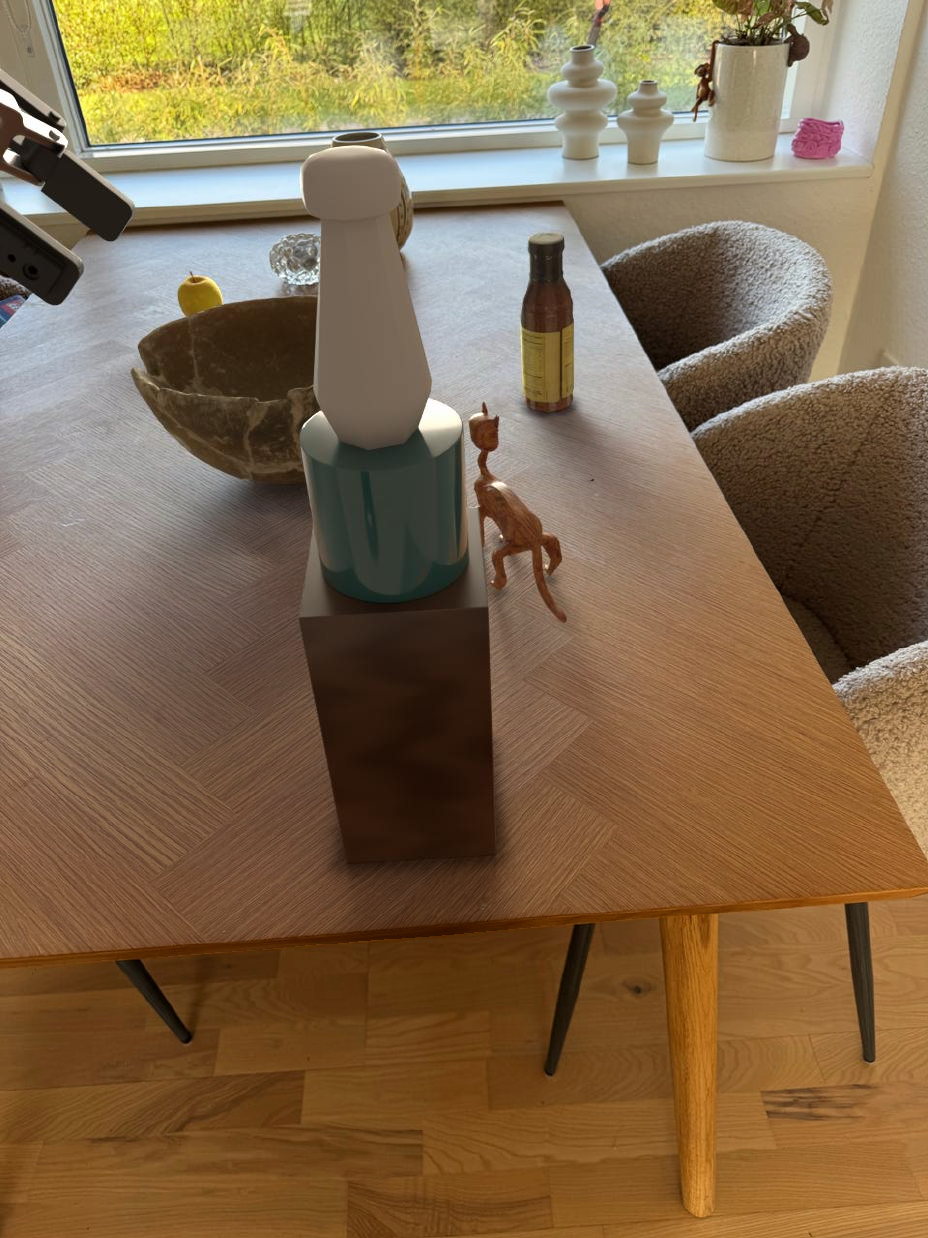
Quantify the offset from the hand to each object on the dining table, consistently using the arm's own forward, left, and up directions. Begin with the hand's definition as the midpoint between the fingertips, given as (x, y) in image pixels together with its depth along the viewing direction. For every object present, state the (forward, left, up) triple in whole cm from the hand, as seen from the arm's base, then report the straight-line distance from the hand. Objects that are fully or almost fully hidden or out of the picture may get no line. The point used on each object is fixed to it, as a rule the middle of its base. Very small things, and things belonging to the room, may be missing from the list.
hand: (101, 254), depth 41 cm
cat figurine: (+33, -5, -39) cm, 51 cm away
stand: (+6, -10, -38) cm, 40 cm away
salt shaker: (+6, -10, -10) cm, 15 cm away
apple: (+71, +64, -39) cm, 103 cm away
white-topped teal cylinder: (+7, -9, -17) cm, 21 cm away
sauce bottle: (+67, +7, -39) cm, 78 cm away
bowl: (+41, +27, -39) cm, 62 cm away
